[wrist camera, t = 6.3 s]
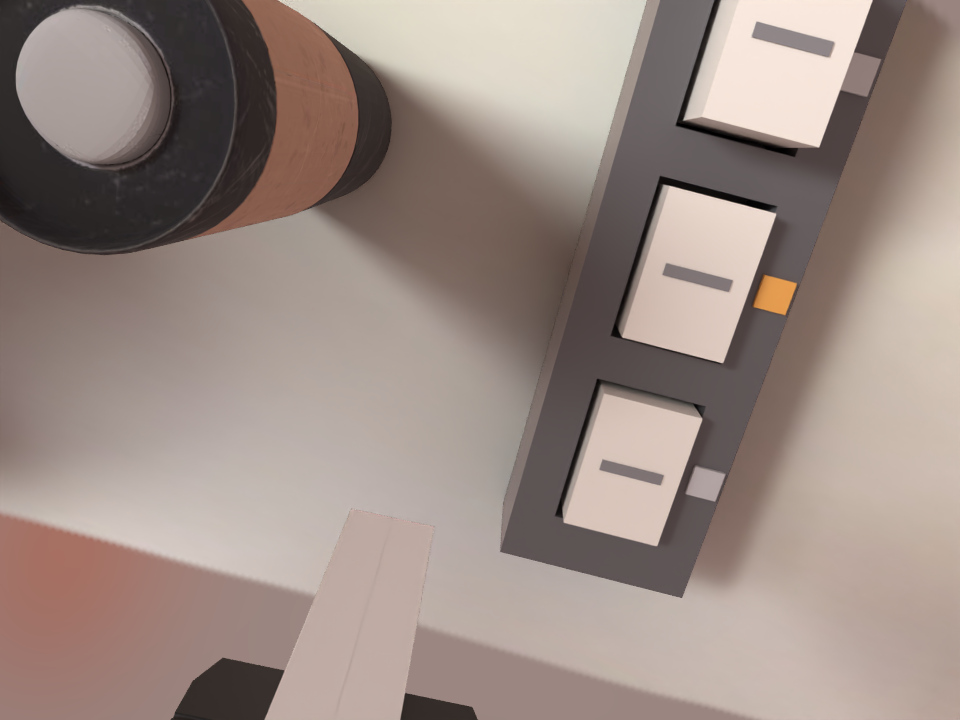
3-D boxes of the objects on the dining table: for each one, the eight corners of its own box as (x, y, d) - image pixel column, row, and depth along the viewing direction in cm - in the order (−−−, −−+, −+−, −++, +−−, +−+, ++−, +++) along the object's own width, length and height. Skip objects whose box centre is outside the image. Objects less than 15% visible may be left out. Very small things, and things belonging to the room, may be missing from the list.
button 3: (675, 122, 32) (702, 116, 27) (725, -40, 30) (764, -77, 25) (774, 148, 32) (819, 147, 27) (830, -12, 30) (889, -44, 25)
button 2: (609, 312, 36) (622, 338, 31) (649, 181, 34) (670, 186, 29) (696, 335, 36) (723, 363, 31) (741, 205, 34) (777, 213, 29)
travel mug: (428, 150, 36) (313, 149, 16) (298, 232, 37) (52, 320, 18) (340, 1, 34) (99, -194, 15) (208, 93, 35) (-169, 23, 16)
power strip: (503, 504, 40) (499, 553, 35) (719, -254, 30) (757, -334, 25) (663, 544, 40) (682, 600, 35) (930, -198, 31) (1009, -266, 26)
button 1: (558, 476, 39) (563, 523, 34) (593, 362, 37) (604, 393, 32) (640, 497, 39) (657, 547, 34) (679, 383, 37) (703, 419, 32)
